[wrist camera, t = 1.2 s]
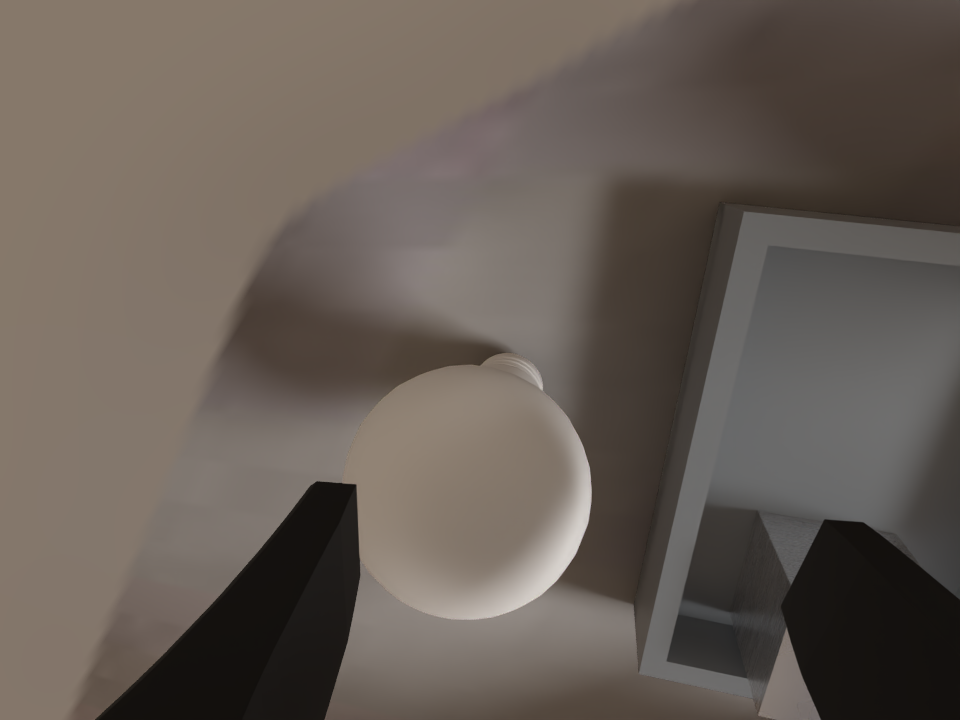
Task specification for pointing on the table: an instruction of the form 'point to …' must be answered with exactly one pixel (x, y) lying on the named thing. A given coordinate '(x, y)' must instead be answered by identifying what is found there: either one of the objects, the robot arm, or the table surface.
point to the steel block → (775, 613)
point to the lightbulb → (469, 489)
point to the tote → (803, 415)
